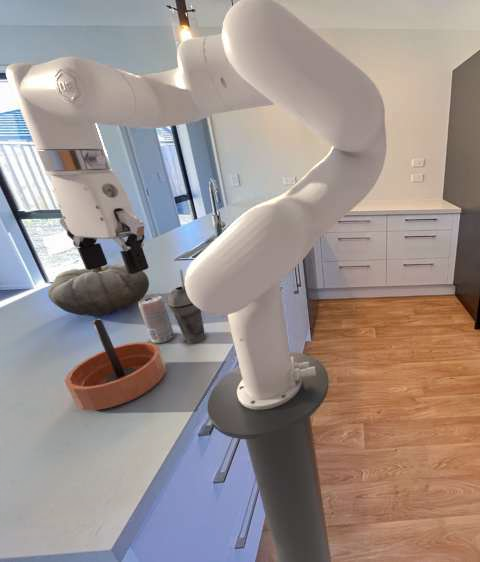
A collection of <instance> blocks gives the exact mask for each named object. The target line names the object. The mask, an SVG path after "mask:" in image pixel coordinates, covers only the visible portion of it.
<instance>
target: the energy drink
mask: <svg viewBox="0 0 480 562" xmlns="http://www.w3.org/2000/svg"><path fill="white" fill-rule="evenodd" d="M138 308H139V310H140V314H141V316H142V319H143V322H144V324H145V327H146V330H147V332H148V335H149V339H150V341H151V343H153V344H163V343H166V342H168V341H170V340H171V339H173V338H174V336H175V331H174V329H173V326H172V323H171V319H170V316H169V313H168V311H167V308H166V305H165V301H164V299H163V298H162V296H161V295H151V296H147V297H143V298H142V299H141V300H140V301H139V302H138Z"/></svg>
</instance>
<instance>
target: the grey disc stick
mask: <svg viewBox="0 0 480 562" xmlns="http://www.w3.org/2000/svg"><path fill="white" fill-rule="evenodd" d="M92 324H93V326H94V330H95V331H96V333H97V336H98V338H99V340H100V342H101V345H102V347H103V349H104V351H106V354H107V356H108V358H109V360H110V363H111V365H112V367H113V369H114V373H112V374H110V375H109V376H108V377H107V378H106V383H109V382H112V381H115V380H118V379H120V378H123V377H125V376H127V375H130V374H132V373H133V372H135V371H136V370H135V368H124V369H123V368H122V366H121V363H120V361H119V359H118V356H117V354H116V352H115V349H114V347H115V346H114V344H113V343H112V341H111V338H110V335H109V333H108V330H107V329H106V326H105V324H104V321H103V319H101V318H96V319H93V321H92Z"/></svg>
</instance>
